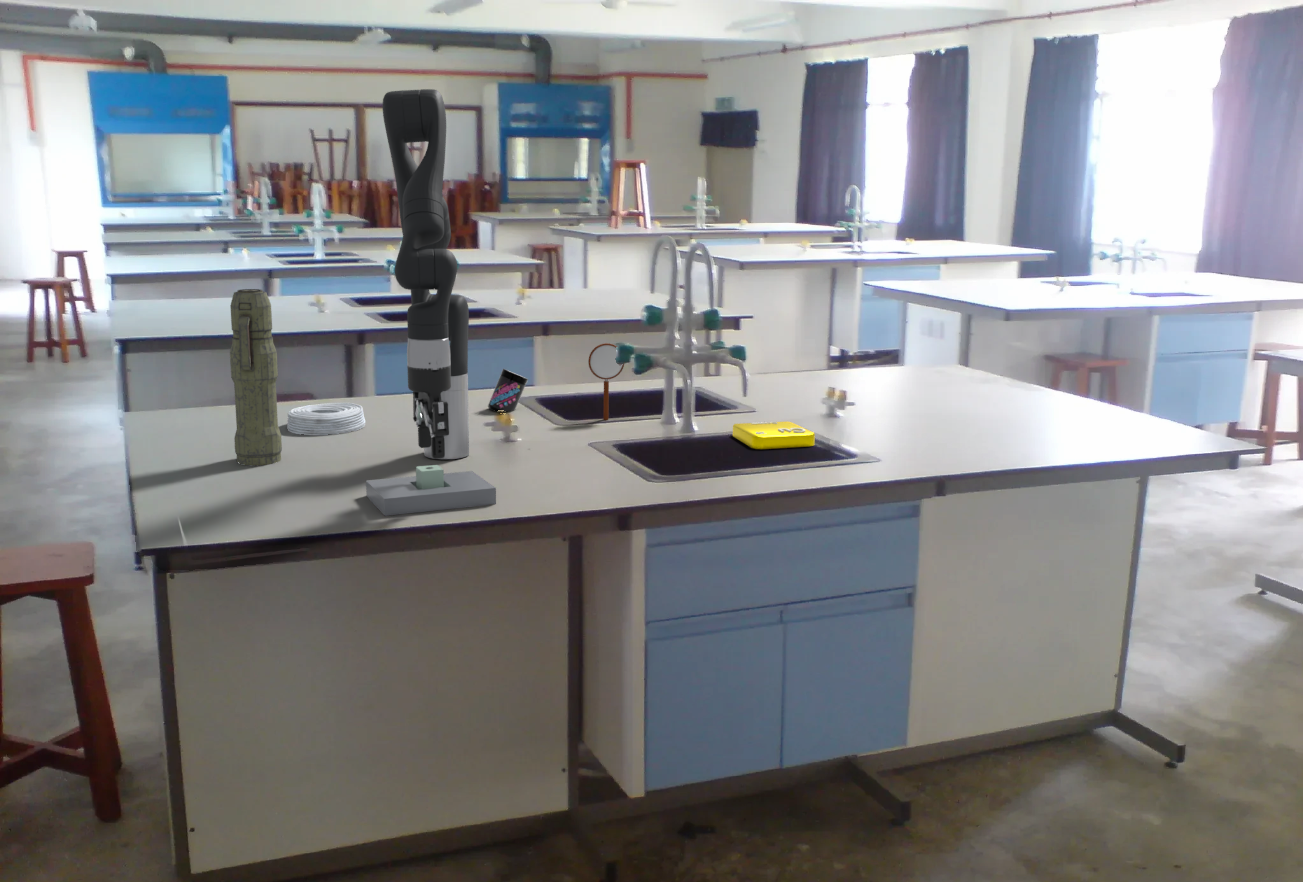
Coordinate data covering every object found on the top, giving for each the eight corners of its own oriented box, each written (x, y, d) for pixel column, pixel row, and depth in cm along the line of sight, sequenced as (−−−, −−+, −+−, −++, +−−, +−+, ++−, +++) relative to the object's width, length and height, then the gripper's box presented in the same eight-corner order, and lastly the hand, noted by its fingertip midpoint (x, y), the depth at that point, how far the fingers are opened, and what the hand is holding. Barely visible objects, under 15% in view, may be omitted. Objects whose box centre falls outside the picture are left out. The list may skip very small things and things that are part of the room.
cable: (376, 427, 276) (375, 402, 274) (350, 443, 259) (349, 416, 257) (304, 425, 277) (303, 400, 276) (274, 440, 260) (273, 413, 259)
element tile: (789, 439, 272) (790, 418, 271) (817, 452, 258) (818, 431, 257) (729, 442, 267) (730, 421, 266) (754, 456, 253) (755, 434, 252)
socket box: (366, 496, 213) (365, 480, 213) (472, 486, 222) (472, 470, 221) (384, 515, 201) (384, 498, 200) (496, 504, 209) (495, 487, 209)
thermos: (231, 471, 230) (220, 292, 223) (241, 457, 242) (231, 287, 235) (277, 470, 232) (269, 292, 225) (285, 456, 243) (277, 287, 236)
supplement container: (481, 405, 289) (497, 366, 289) (500, 411, 294) (516, 373, 294) (498, 413, 285) (515, 373, 284) (517, 420, 290) (533, 381, 290)
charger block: (416, 498, 212) (415, 466, 211) (438, 496, 214) (437, 464, 213) (422, 504, 209) (421, 471, 208) (444, 502, 211) (443, 469, 209)
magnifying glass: (623, 425, 282) (624, 342, 278) (624, 426, 281) (625, 343, 276) (587, 425, 281) (588, 343, 277) (588, 427, 279) (589, 343, 275)
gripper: (397, 358, 211) (400, 445, 214) (419, 370, 198) (421, 463, 202) (438, 356, 214) (440, 442, 218) (461, 368, 202) (463, 459, 205)
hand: (431, 452), depth 210 cm, fingers open, 8 cm apart
